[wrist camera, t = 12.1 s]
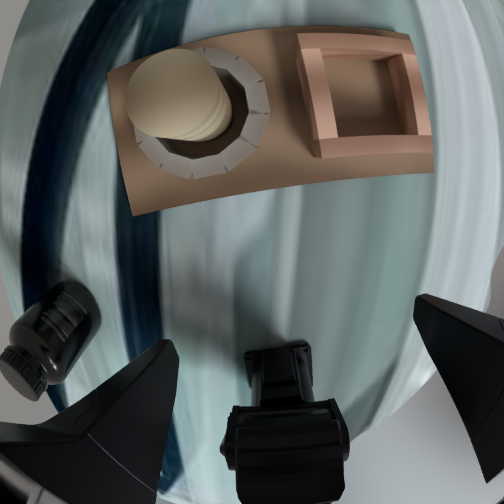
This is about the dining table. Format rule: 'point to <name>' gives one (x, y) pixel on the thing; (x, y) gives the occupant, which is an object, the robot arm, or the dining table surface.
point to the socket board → (286, 117)
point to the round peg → (179, 98)
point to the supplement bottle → (50, 339)
